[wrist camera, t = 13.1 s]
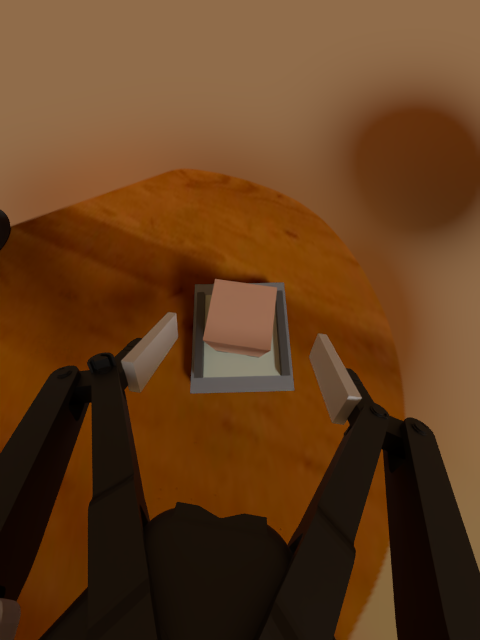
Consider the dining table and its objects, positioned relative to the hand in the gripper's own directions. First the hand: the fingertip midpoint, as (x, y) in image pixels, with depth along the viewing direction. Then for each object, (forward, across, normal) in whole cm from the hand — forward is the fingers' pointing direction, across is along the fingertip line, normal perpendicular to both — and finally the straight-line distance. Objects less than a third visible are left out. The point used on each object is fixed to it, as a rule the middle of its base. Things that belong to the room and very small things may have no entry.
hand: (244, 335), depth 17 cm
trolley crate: (+8, -1, -5) cm, 9 cm away
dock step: (+11, 0, -8) cm, 14 cm away
